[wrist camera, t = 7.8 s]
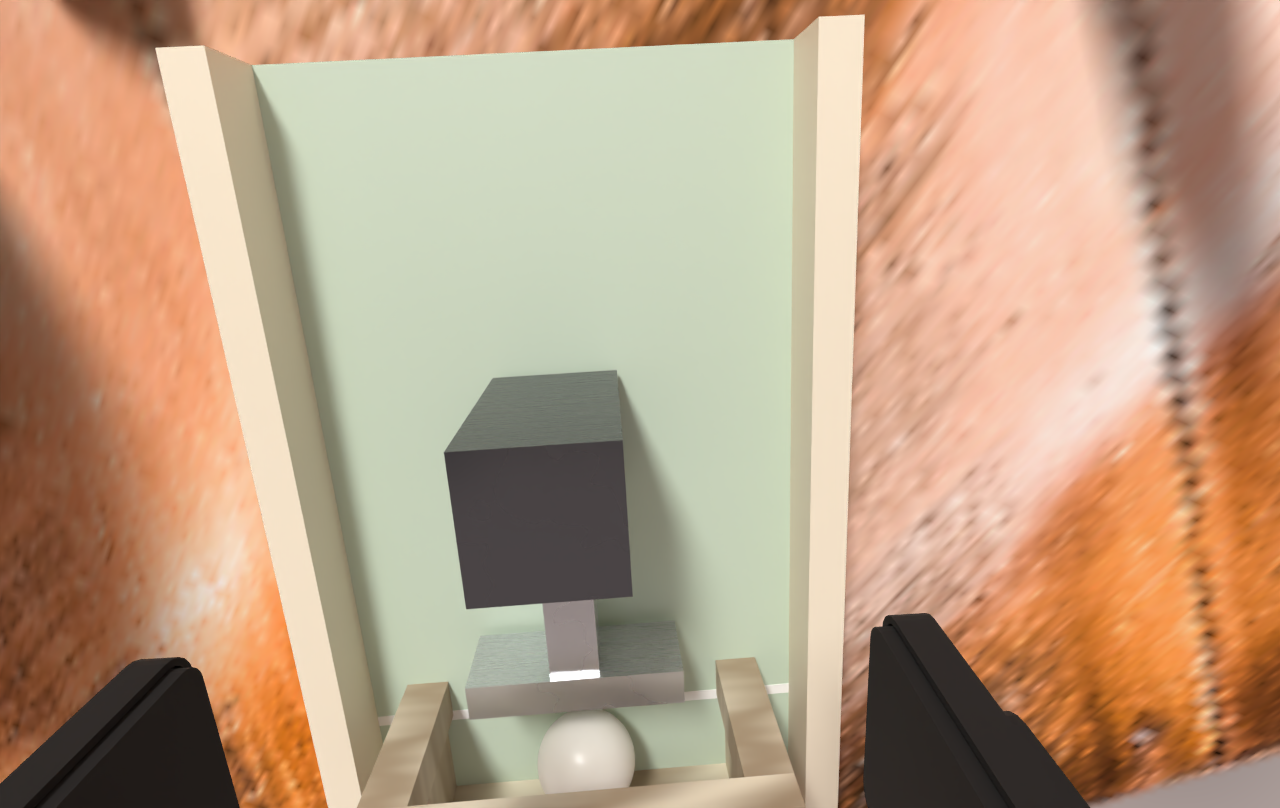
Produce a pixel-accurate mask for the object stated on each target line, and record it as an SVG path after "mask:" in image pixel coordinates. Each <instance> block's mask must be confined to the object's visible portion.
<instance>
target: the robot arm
mask: <svg viewBox="0 0 1280 808" xmlns="http://www.w3.org/2000/svg"><path fill="white" fill-rule="evenodd" d="M863 782H864V792H865V798H866V802H867V806H868V808H1090V807H1089V805H1088V804H1087V803H1086V802H1085V800H1084V799H1083V798H1082V796H1081V795H1080V794H1079V792H1078V791H1077V790H1076V789H1075V787H1074V786H1073V785H1072V783H1071V782H1070V781H1069V779H1068V778H1067V777H1066V776H1065V774H1064V773H1063V772H1062V770H1061V769H1060V768H1059V766H1058V765H1057V764H1056V763H1055V761H1054V760H1053V759H1052V757H1051V756H1050V755H1049V753H1048V752H1047V751H1046V750H1045V748H1044V747H1043V746H1042V744H1041V743H1040V742H1039V740H1038V739H1037V738H1036V737H1035V735H1034V734H1033V733H1032V731H1031V730H1030V729H1029V727H1028V726H1027V725H1026V724H1025V723H1024V722H1023V721H1022V720H1021V719H1020V718H1019V717H1018V715H1016V714H1014V713H1012V712H1010V711H1002V709H1001V708H1000V707H999V705H998V704H997V703H996V701H995V700H994V698H993V697H992V696H991V694H990V693H989V692H988V690H987V689H986V688H985V686H984V685H983V684H982V682H981V681H980V680H979V678H978V677H977V676H976V674H975V673H974V672H973V670H972V669H971V668H970V666H969V665H968V664H967V662H966V661H965V659H964V658H963V657H962V655H961V654H960V653H959V651H958V650H957V649H956V647H955V646H954V645H953V643H952V642H951V641H950V639H949V638H948V637H947V635H946V634H945V633H944V631H943V630H942V629H941V627H940V626H939V625H938V623H937V622H936V620H935V619H934V618H933V617H932V616H931V615H930V614H927V613H920V614H903V615H888V616H886V617H885V619H884V621H883V627H874V628H873V629H872V631H871V638H870V658H869V678H868V698H867V718H866V738H865V757H864V777H863ZM0 808H240V807H239V804H238V800H237V797H236V793H235V790H234V786H233V783H232V779H231V775H230V772H229V768H228V765H227V761H226V758H225V754H224V751H223V747H222V743H221V740H220V736H219V733H218V729H217V726H216V722H215V719H214V715H213V712H212V708H211V704H210V701H209V697H208V694H207V690H206V687H205V683H204V680H203V676H202V674H201V672H200V671H199V670H198V669H197V668H193V667H191V665H190V663H189V662H188V661H187V660H186V659H185V658H180V657H174V658H157V659H141V660H137V661H134V662H132V663H131V664H129V665H128V666H126V667H125V668H124V669H123V670H122V671H121V672H120V673H119V674H118V675H117V676H116V677H115V678H114V679H112V680H111V681H110V682H109V683H108V684H107V685H106V686H105V687H104V688H103V689H102V690H101V691H100V692H98V693H97V694H96V695H95V696H94V697H93V698H92V699H91V700H90V701H89V702H88V703H87V704H86V705H84V706H83V707H82V708H81V709H80V710H79V711H78V712H77V713H76V714H75V715H74V716H73V717H72V718H70V719H69V720H68V721H67V722H66V723H65V724H64V725H63V726H62V727H61V728H60V729H59V730H58V731H56V732H55V733H54V734H53V735H52V736H51V737H50V738H49V739H48V740H47V741H46V742H45V743H44V744H42V745H41V746H40V747H39V748H38V749H37V750H36V751H35V752H34V753H33V754H32V755H31V756H30V757H28V758H27V759H26V760H25V761H24V762H23V763H22V764H21V765H20V766H19V767H18V768H17V769H16V770H14V771H13V772H12V773H11V774H10V775H9V776H8V777H7V778H6V779H5V780H4V781H3V782H2V783H0Z"/></svg>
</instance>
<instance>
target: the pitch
mask: <svg viewBox="0 0 1280 808" xmlns="http://www.w3.org/2000/svg"><path fill="white" fill-rule="evenodd" d="M864 16H865V15H849V16H828V17H818V18H817V19H816V20H815V21H814V22H813V23H812V24H810V25H809V26H808V27H807V28H806V29H805V30H804V31H803V32H802V33H800V34H799V35H798V36H797V37H796V38H795V39H792V40H771V41H750V42H729V43H708V44H687V45H666V46H645V47H624V48H603V49H582V50H561V51H540V52H519V53H498V54H477V55H456V56H435V57H414V58H393V59H372V60H351V61H330V62H309V63H288V64H267V65H250V64H248V63H245V62H243V61H240V60H238V59H236V58H233V57H231V56H228V55H226V54H223V53H221V52H219V51H216V50H214V49H211V48H209V47H206V46H183V47H162V48H155V49H156V54H157V58H158V62H159V67H160V71H161V76H162V80H163V84H164V89H165V93H166V98H167V102H168V106H169V111H170V115H171V119H172V124H173V128H174V133H175V137H176V141H177V146H178V150H179V155H180V159H181V163H182V168H183V172H184V177H185V181H186V185H187V190H188V194H189V198H190V203H191V207H192V212H193V216H194V220H195V225H196V229H197V234H198V238H199V242H200V247H201V251H202V256H203V260H204V264H205V269H206V273H207V277H208V282H209V286H210V291H211V295H212V299H213V304H214V308H215V313H216V317H217V321H218V326H219V330H220V335H221V339H222V343H223V348H224V352H225V357H226V361H227V365H228V370H229V374H230V378H231V383H232V387H233V392H234V396H235V400H236V405H237V409H238V414H239V418H240V422H241V427H242V431H243V436H244V440H245V444H246V449H247V453H248V457H249V462H250V466H251V471H252V475H253V479H254V484H255V488H256V493H257V497H258V501H259V506H260V510H261V515H262V519H263V523H264V528H265V532H266V536H267V541H268V545H269V550H270V554H271V558H272V563H273V567H274V572H275V576H276V580H277V585H278V589H279V594H280V598H281V602H282V607H283V611H284V616H285V620H286V624H287V629H288V633H289V637H290V642H291V646H292V651H293V655H294V659H295V664H296V668H297V673H298V677H299V681H300V686H301V690H302V695H303V699H304V703H305V708H306V712H307V716H308V721H309V725H310V730H311V734H312V738H313V743H314V747H315V752H316V756H317V760H318V765H319V769H320V774H321V778H322V782H323V787H324V791H325V795H326V800H327V804H328V808H357V806H358V804H359V801H360V799H361V796H362V794H363V791H364V789H365V787H366V784H367V782H368V779H369V777H370V774H371V772H372V770H373V767H374V765H375V762H376V760H377V758H378V755H379V753H380V750H381V748H382V745H383V743H384V741H385V738H386V736H387V733H388V731H389V728H390V726H391V724H392V721H393V719H394V716H395V714H396V711H397V709H398V707H399V704H400V702H401V699H402V697H403V695H404V692H405V690H406V687H407V685H411V684H423V683H436V682H448V683H449V690H450V696H451V702H452V709H453V718H452V722H451V725H450V729H449V732H448V735H449V741H450V747H451V753H452V760H453V766H454V772H455V778H456V785H457V786H462V785H473V784H485V783H497V782H508V781H520V780H532V779H539V775H538V766H537V762H538V753H539V749H540V745H541V742H542V740H543V738H544V736H545V734H546V732H547V730H548V729H549V728H550V726H551V725H552V724H553V723H554V722H555V721H556V720H557V719H558V718H559V717H561V716H562V715H564V714H565V713H567V712H560V713H548V714H536V715H524V716H512V717H499V718H487V719H475V720H469V713H468V706H467V700H466V693H465V686H466V683H467V680H468V676H469V673H470V669H471V666H472V662H473V659H474V655H475V652H476V648H477V645H478V642H479V638H480V636H484V635H496V634H509V633H522V632H535V631H545V624H544V615H543V605H542V604H530V605H517V606H504V607H491V608H478V609H466V605H465V598H464V591H463V584H462V577H461V570H460V563H459V556H458V549H457V542H456V535H455V528H454V521H453V514H452V507H451V500H450V493H449V486H448V479H447V472H446V465H445V458H444V451H445V450H446V448H447V447H448V445H449V444H450V442H451V441H452V439H453V438H454V436H455V434H456V433H457V431H458V430H459V428H460V427H461V425H462V424H463V422H464V421H465V419H466V418H467V416H468V415H469V413H470V412H471V410H472V409H473V407H474V406H475V404H476V403H477V401H478V400H479V398H480V397H481V395H482V394H483V392H484V391H485V389H486V387H487V386H488V384H489V383H490V381H491V380H492V378H500V377H515V376H531V375H546V374H562V373H577V372H593V371H608V370H617V379H618V391H619V402H620V414H621V426H622V438H623V452H624V468H625V483H626V499H627V515H628V530H629V546H630V561H631V577H632V592H633V597H622V598H609V599H596V601H597V613H598V626H612V625H625V624H638V623H651V622H664V621H675V626H676V632H677V637H678V643H679V649H680V654H681V660H682V666H683V674H684V697H685V702H682V703H670V704H658V705H646V706H634V707H621V708H609V709H602V710H605V711H607V712H609V713H611V714H612V715H614V716H615V717H616V718H617V719H618V720H619V721H620V722H621V723H622V724H623V725H624V726H625V728H626V730H627V731H628V733H629V735H630V737H631V740H632V743H633V746H634V752H635V769H634V771H637V770H649V769H661V768H672V767H684V766H696V765H708V764H719V763H726V756H725V729H724V725H723V720H722V716H721V712H720V707H719V703H718V699H717V695H716V665H715V660H723V659H736V658H749V657H755V659H756V662H757V665H758V668H759V671H760V674H761V677H762V680H763V683H764V686H765V689H766V691H767V694H768V697H769V700H770V703H771V706H772V709H773V712H774V715H775V718H776V721H777V724H778V727H779V730H780V733H781V736H782V739H783V742H784V745H785V747H786V750H787V753H788V756H789V759H790V762H791V765H792V768H793V771H794V774H795V777H796V780H797V783H798V786H799V789H800V792H801V795H802V798H803V800H804V803H805V806H806V808H838V784H839V755H840V725H841V696H842V666H843V637H844V607H845V578H846V548H847V519H848V489H849V460H850V430H851V400H852V371H853V341H854V312H855V282H856V253H857V223H858V194H859V164H860V135H861V105H862V76H863V46H864Z"/></svg>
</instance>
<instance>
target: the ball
mask: <svg viewBox="0 0 1280 808" xmlns="http://www.w3.org/2000/svg"><path fill="white" fill-rule="evenodd" d="M537 766H538V775H539V780H540V783H541V786H542V789H543V791H544V793H545V794H556V793H567V792H579V791H591V790H602V789H614V788H626V787H629V786H630V784H631V781H632V778H633V774H634V769H635V752H634V746H633V743H632V740H631V737H630V735H629V733H628V731H627V730H626V728H625V726H624V725H623V724H622V723H621V722H620V721H619V720H618V719H617V718H616V717H615V716H614V715H612V714H611V713H609V712H607V711H605V710H602V709H597V710H585V711H573V712H567V713H565V714H564V715H562V716H561V717H559V718H558V719H557V720H556V721H555V722H554V723H553V724H552V725H551V726H550V728H549V729H548V730H547V732H546V734H545V736H544V738H543V740H542V742H541V745H540V749H539V753H538V762H537Z"/></svg>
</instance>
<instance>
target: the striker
mask: <svg viewBox="0 0 1280 808" xmlns="http://www.w3.org/2000/svg"><path fill="white" fill-rule="evenodd" d="M444 458H445V465H446V472H447V479H448V486H449V493H450V500H451V507H452V514H453V521H454V528H455V535H456V542H457V549H458V556H459V563H460V570H461V577H462V584H463V591H464V598H465V605H466V609H478V608H491V607H504V606H517V605H530V604H542V605H543V615H544V624H545V631H535V632H522V633H509V634H496V635H484V636H480V638H479V642H478V645H477V648H476V652H475V655H474V659H473V662H472V666H471V669H470V673H469V676H468V680H467V683H466V686H465V693H466V700H467V706H468V713H469V720H475V719H487V718H499V717H512V716H524V715H536V714H548V713H560V712H573V711H585V710H597V709H609V708H621V707H634V706H646V705H658V704H670V703H682V702H685V697H684V674H683V666H682V660H681V654H680V649H679V643H678V637H677V632H676V626H675V621H664V622H651V623H638V624H625V625H612V626H598V613H597V601H596V599H609V598H622V597H633V592H632V577H631V561H630V546H629V530H628V515H627V499H626V483H625V468H624V452H623V438H622V426H621V414H620V402H619V391H618V379H617V370H608V371H593V372H577V373H562V374H546V375H531V376H515V377H500V378H492V380H491V381H490V383H489V384H488V386H487V387H486V389H485V391H484V392H483V394H482V395H481V397H480V398H479V400H478V401H477V403H476V404H475V406H474V407H473V409H472V410H471V412H470V413H469V415H468V416H467V418H466V419H465V421H464V422H463V424H462V425H461V427H460V428H459V430H458V431H457V433H456V434H455V436H454V438H453V439H452V441H451V442H450V444H449V445H448V447H447V448H446V450H445V451H444Z"/></svg>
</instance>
